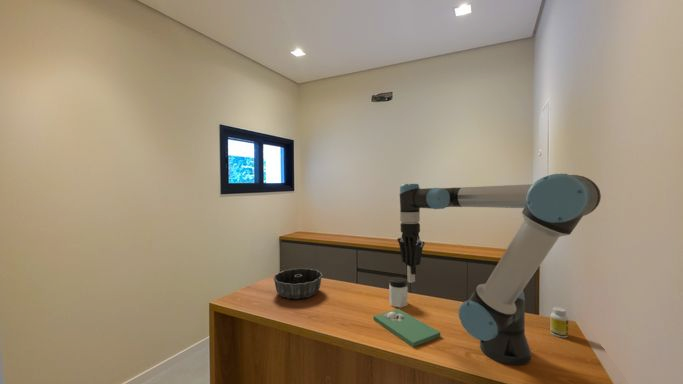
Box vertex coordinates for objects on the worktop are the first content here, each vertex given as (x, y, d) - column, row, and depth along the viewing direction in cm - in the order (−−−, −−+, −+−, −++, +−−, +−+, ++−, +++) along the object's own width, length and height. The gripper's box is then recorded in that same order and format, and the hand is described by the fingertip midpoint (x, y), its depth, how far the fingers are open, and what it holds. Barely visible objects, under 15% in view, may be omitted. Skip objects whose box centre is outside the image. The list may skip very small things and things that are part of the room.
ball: (396, 310, 119) (391, 310, 122) (390, 313, 117) (385, 313, 120) (399, 319, 118) (394, 319, 121) (393, 322, 116) (388, 322, 119)
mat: (440, 336, 106) (440, 332, 106) (413, 347, 99) (413, 342, 99) (398, 312, 127) (398, 308, 127) (373, 319, 120) (373, 316, 120)
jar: (397, 309, 130) (397, 283, 130) (385, 303, 137) (385, 279, 137) (411, 304, 135) (410, 280, 135) (399, 299, 142) (398, 275, 142)
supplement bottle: (569, 339, 103) (569, 313, 102) (551, 335, 106) (551, 310, 105) (567, 333, 107) (567, 307, 107) (549, 329, 110) (549, 304, 110)
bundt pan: (320, 303, 139) (320, 283, 138) (267, 303, 139) (267, 283, 139) (324, 284, 165) (324, 268, 165) (280, 285, 165) (280, 268, 165)
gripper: (429, 223, 107) (430, 284, 107) (405, 220, 118) (406, 275, 118) (415, 224, 103) (416, 288, 103) (391, 221, 114) (393, 279, 114)
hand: (411, 281), depth 111 cm, fingers closed
